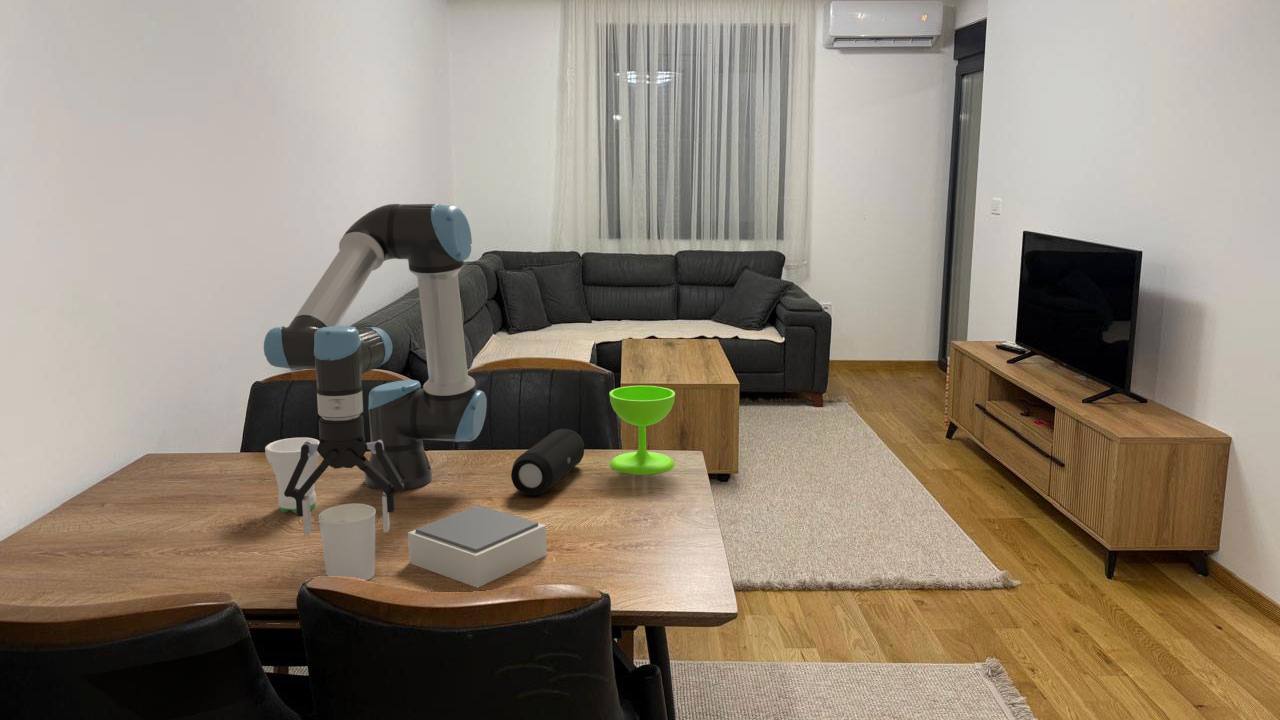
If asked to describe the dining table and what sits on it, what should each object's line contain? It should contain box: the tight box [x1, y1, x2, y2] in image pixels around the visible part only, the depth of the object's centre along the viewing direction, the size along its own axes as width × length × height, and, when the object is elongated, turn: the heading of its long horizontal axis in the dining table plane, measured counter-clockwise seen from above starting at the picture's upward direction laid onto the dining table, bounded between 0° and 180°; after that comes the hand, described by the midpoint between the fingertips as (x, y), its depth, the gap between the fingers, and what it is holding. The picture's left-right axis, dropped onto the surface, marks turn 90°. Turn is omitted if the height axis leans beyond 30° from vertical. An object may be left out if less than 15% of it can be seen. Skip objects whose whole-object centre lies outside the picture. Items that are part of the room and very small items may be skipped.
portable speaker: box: [510, 428, 585, 496], centre depth 228 cm, size 26×10×10 cm, turn 164°
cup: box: [264, 437, 321, 515], centre depth 209 cm, size 11×11×14 cm
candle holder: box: [317, 502, 377, 581], centre depth 176 cm, size 10×10×12 cm
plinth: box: [407, 504, 548, 589], centre depth 184 cm, size 18×18×7 cm
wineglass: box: [608, 385, 676, 476], centre depth 239 cm, size 16×16×18 cm
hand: (347, 531), depth 175 cm, fingers open, 13 cm apart
